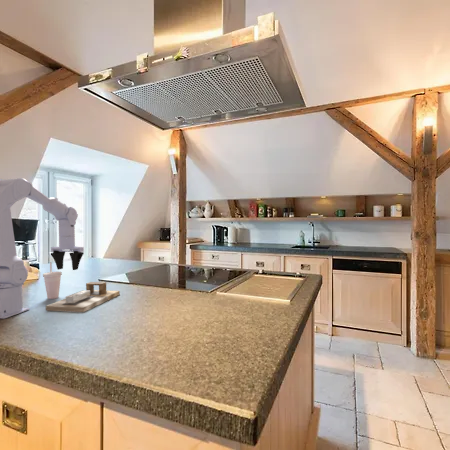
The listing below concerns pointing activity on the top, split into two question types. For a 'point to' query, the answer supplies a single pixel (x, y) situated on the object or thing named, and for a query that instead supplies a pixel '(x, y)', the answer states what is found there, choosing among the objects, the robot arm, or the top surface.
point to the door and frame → (88, 303)
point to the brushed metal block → (78, 296)
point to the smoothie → (52, 283)
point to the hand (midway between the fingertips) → (67, 269)
